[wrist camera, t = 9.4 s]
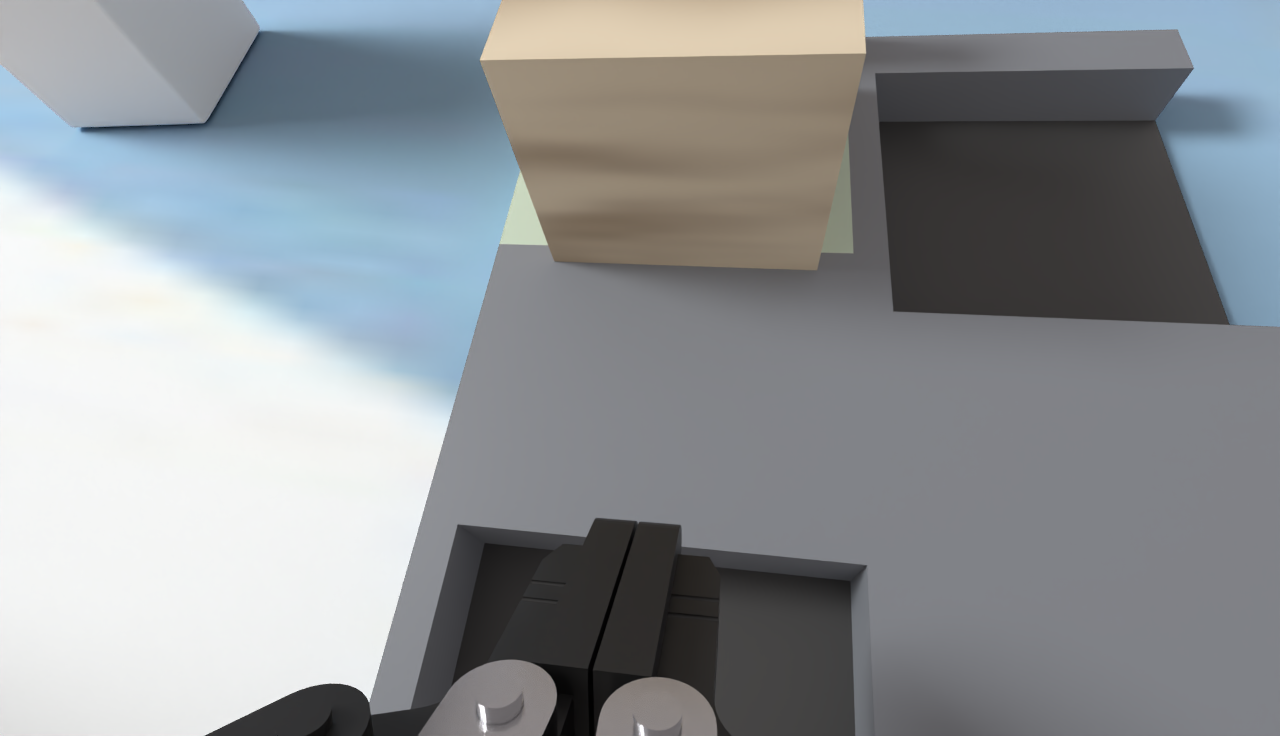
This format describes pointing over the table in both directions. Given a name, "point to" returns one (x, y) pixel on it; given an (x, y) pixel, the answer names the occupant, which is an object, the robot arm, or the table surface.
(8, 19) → the milk carton
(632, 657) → the robot arm
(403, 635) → the trap deck
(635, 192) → the beech block
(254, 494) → the table surface
